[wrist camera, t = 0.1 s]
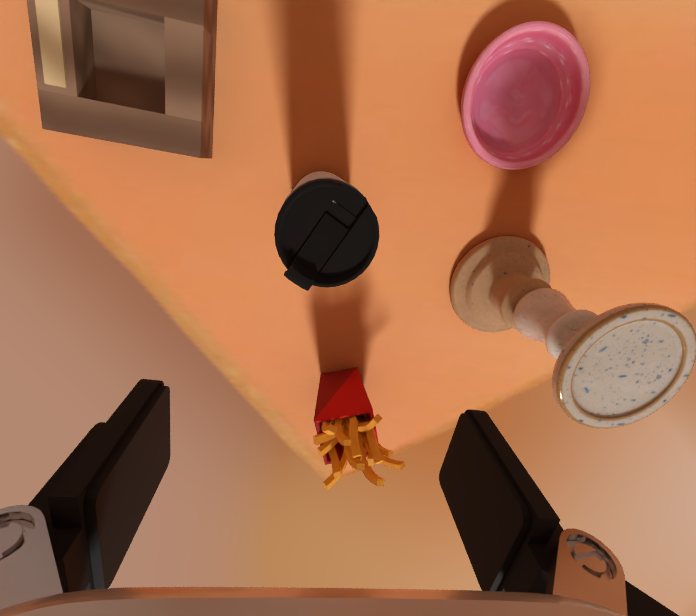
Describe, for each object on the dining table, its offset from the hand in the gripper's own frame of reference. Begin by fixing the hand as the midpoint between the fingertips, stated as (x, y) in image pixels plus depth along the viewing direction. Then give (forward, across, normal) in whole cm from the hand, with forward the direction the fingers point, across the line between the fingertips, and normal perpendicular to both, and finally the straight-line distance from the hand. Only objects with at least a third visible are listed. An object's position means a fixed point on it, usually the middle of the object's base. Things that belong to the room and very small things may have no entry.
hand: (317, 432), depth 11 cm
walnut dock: (+31, +18, -13) cm, 38 cm away
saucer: (+32, -18, -17) cm, 40 cm away
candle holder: (+31, -23, +2) cm, 39 cm away
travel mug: (+31, 0, -4) cm, 32 cm away
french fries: (+31, -7, +18) cm, 37 cm away
